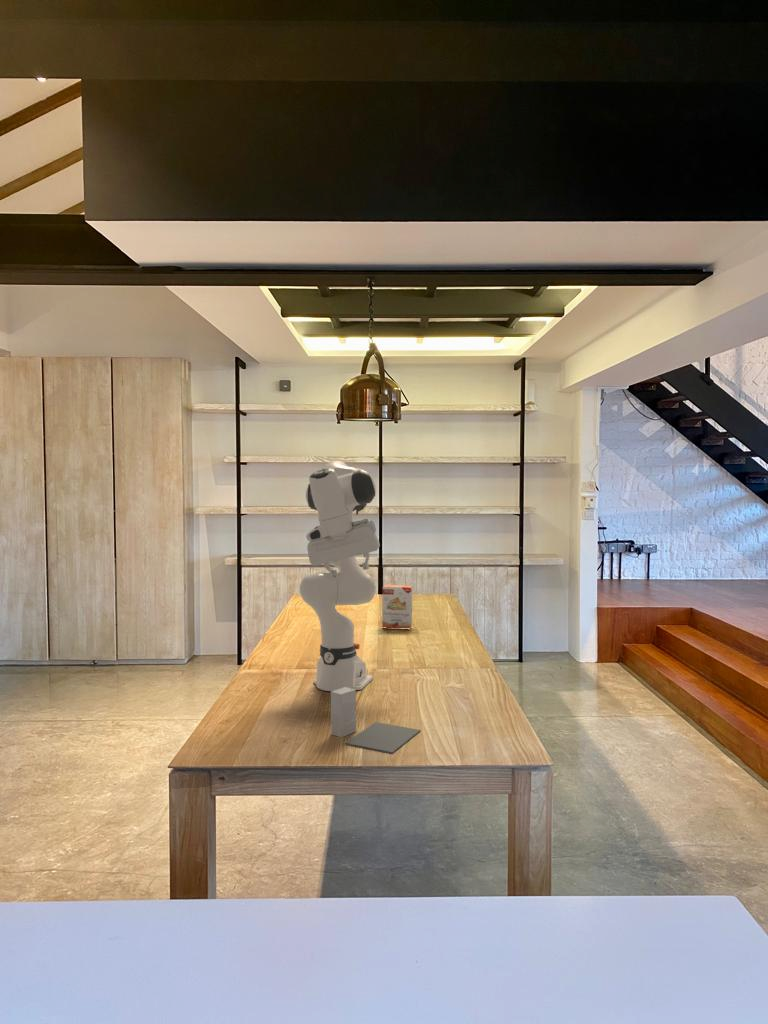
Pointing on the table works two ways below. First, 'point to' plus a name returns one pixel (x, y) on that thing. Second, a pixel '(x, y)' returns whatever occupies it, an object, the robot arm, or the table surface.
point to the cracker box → (397, 606)
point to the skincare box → (343, 711)
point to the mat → (383, 737)
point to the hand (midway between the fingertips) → (350, 573)
